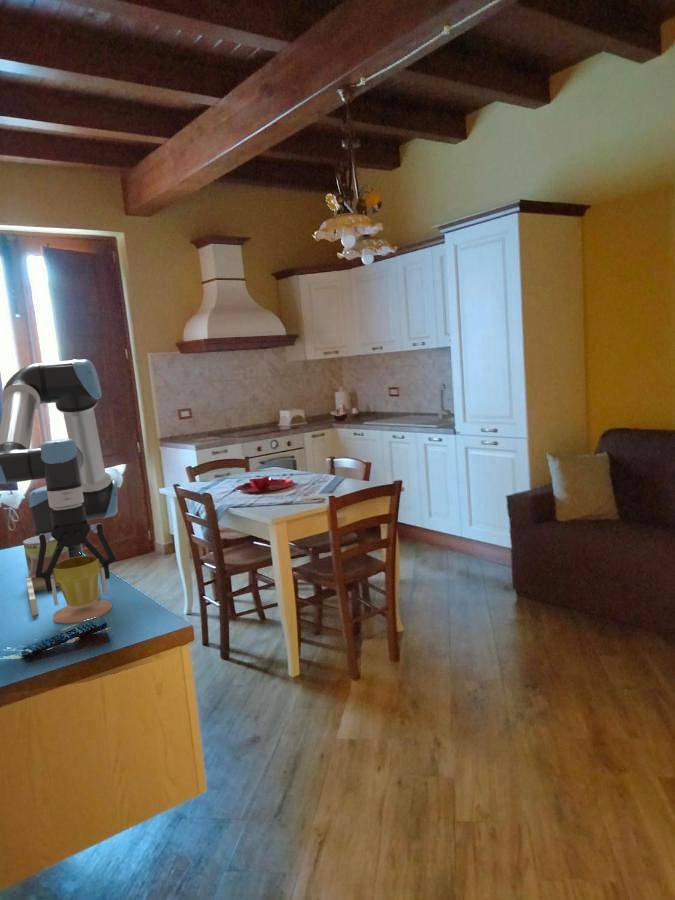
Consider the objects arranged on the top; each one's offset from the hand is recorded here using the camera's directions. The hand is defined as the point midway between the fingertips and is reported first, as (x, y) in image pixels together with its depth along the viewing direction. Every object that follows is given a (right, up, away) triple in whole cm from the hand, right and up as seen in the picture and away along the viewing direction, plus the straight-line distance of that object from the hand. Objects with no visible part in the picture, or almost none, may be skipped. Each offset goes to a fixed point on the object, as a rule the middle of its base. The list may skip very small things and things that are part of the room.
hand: (81, 598), depth 155 cm
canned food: (-21, -2, +32) cm, 38 cm away
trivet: (0, -4, 0) cm, 4 cm away
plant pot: (0, -1, 0) cm, 1 cm away
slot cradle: (-11, -3, +15) cm, 19 cm away
